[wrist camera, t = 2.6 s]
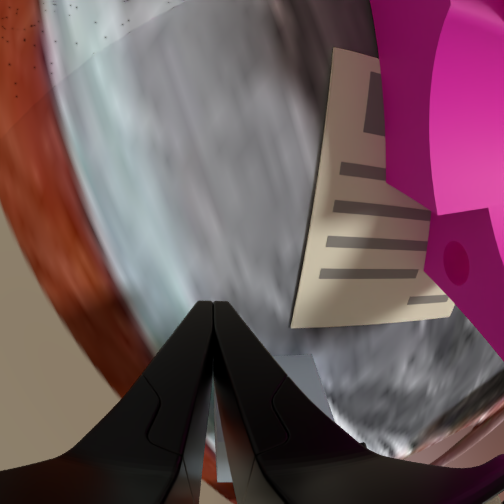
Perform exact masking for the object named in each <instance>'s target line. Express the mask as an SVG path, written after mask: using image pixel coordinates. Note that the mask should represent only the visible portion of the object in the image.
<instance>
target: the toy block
mask: <svg viewBox="0 0 504 504" xmlns="http://www.w3.org/2000/svg"><path fill="white" fill-rule="evenodd" d="M370 4H371V9H372V15H373V20H374V26H375V33H376V39H377V46H378V54H379V62H380V71H381V80H382V91H383V104H384V120H385V145H386V183H387V184H389V185H391V186H392V187H394V188H396V189H397V190H399V191H400V192H402V193H404V194H405V195H407V196H409V197H410V198H412V199H413V200H415V201H416V202H418V203H420V204H421V205H423V206H424V207H426V208H427V209H429V210H430V211H431V219H430V228H429V236H428V244H427V251H426V258H425V264H424V272H425V273H426V274H427V275H428V276H429V277H430V278H431V279H432V280H433V281H434V282H435V283H436V284H437V285H438V286H439V287H440V288H441V290H442V291H443V292H444V293H445V294H446V295H447V296H448V297H449V298H450V299H451V300H452V301H453V302H454V304H455V305H456V306H457V307H458V308H459V309H460V310H461V311H462V312H463V314H464V315H465V316H466V317H467V318H468V319H469V320H470V321H471V323H472V324H473V325H474V326H475V327H476V328H477V330H478V331H479V332H480V333H481V334H482V335H483V337H484V338H485V339H486V340H487V341H488V343H489V344H490V345H491V346H492V347H493V349H494V350H495V351H496V352H497V354H498V355H499V356H500V357H501V359H502V360H503V361H504V0H370Z"/></svg>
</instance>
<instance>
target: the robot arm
mask: <svg viewBox="0 0 504 504" xmlns="http://www.w3.org/2000/svg"><path fill="white" fill-rule="evenodd" d="M287 376H288V375H287V373H286V372H285V371H284V370H283V369H282V367H281V366H280V365H279V364H278V363H277V361H276V360H275V359H274V358H273V357H272V355H271V354H270V353H269V352H268V351H267V349H266V348H265V347H264V346H263V344H262V343H261V342H260V341H259V339H258V338H257V337H256V336H255V335H254V333H253V332H252V331H251V330H250V328H249V327H248V326H247V325H246V323H245V322H244V321H243V320H242V318H241V317H240V316H239V315H238V313H237V312H236V311H235V309H234V308H233V307H232V306H231V304H230V303H229V302H228V301H214V302H212V301H197V303H196V304H195V305H194V306H193V308H192V309H191V310H190V312H189V313H188V314H187V315H186V317H185V318H184V319H183V321H182V322H181V323H180V325H179V326H178V327H177V328H176V330H175V331H174V332H173V334H172V335H171V336H170V337H169V339H168V340H167V341H166V343H165V344H164V345H163V347H162V348H161V349H160V351H159V352H158V353H157V354H156V356H155V357H154V358H153V360H152V361H151V362H150V364H149V365H148V366H147V368H146V369H145V370H144V371H143V373H142V375H140V376H139V378H138V379H137V380H136V382H135V383H134V385H133V386H132V387H131V388H130V389H129V391H128V392H127V393H126V394H125V396H124V397H123V398H122V399H121V400H120V401H119V402H118V403H117V404H116V405H115V406H114V407H113V409H112V410H111V411H110V412H109V413H108V414H107V415H106V416H105V417H104V418H103V419H102V420H101V421H100V422H99V423H98V424H97V425H96V426H95V427H94V428H93V429H92V430H91V431H90V432H89V433H87V434H86V436H84V437H83V438H82V440H80V442H78V443H77V444H76V445H75V446H74V447H73V448H71V449H70V450H69V451H67V452H66V453H64V454H62V455H60V456H58V457H56V458H53V459H49V460H46V461H42V462H38V463H34V464H30V465H26V466H22V467H17V468H13V469H8V470H3V471H0V504H199V496H200V486H201V476H202V467H203V457H204V448H205V439H206V430H207V422H208V413H209V405H210V396H211V388H212V378H214V386H215V392H216V398H217V403H218V409H219V415H220V420H221V426H222V431H223V437H224V442H225V447H226V452H227V457H228V462H229V467H230V472H231V477H232V481H233V486H234V491H235V495H236V500H237V504H504V501H503V502H501V501H500V498H499V496H498V494H500V493H501V492H503V491H504V454H501V455H498V456H497V457H495V458H493V459H492V460H490V461H488V462H486V463H485V464H483V465H480V466H476V467H472V468H449V467H442V466H435V465H427V464H422V463H416V462H410V461H405V460H400V459H395V458H390V457H386V456H382V455H379V454H377V453H375V452H373V451H371V450H369V449H367V447H366V444H365V443H364V442H363V443H359V442H357V441H356V440H355V439H354V438H353V437H351V436H350V435H349V434H348V433H347V432H345V431H344V430H343V429H342V428H341V427H340V426H338V425H337V424H336V423H335V422H334V421H333V420H331V419H330V418H329V417H328V416H327V415H326V414H325V413H323V412H322V411H321V410H320V409H319V408H318V407H317V406H316V405H315V404H314V403H313V402H312V401H311V400H310V399H309V398H308V397H307V396H306V395H305V394H304V393H303V392H302V391H301V390H300V389H299V387H298V386H297V385H296V384H295V383H294V382H293V380H292V379H291V378H290V377H287Z"/></svg>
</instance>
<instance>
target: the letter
mask: <svg viewBox="0 0 504 504" xmlns="http://www.w3.org/2000/svg"><path fill="white" fill-rule="evenodd" d="M430 219H431V211H430V210H429V209H427V208H426V207H424V206H423V205H421V204H420V203H418V202H416V201H415V200H413V199H412V198H410V197H409V196H407V195H405V194H404V193H402V192H400V191H399V190H397V189H396V188H394V187H392V186H391V185H389V184H387V183H386V145H385V120H384V104H383V91H382V80H381V71H380V62H379V59H378V58H375V57H371V56H368V55H364V54H361V53H357V52H353V51H349V50H345V49H341V48H336V47H333V55H332V66H331V75H330V85H329V94H328V102H327V111H326V119H325V127H324V134H323V142H322V149H321V156H320V163H319V170H318V177H317V184H316V190H315V196H314V203H313V209H312V215H311V221H310V227H309V233H308V238H307V244H306V250H305V255H304V261H303V266H302V271H301V277H300V282H299V287H298V292H297V297H296V302H295V307H294V312H293V317H292V322H291V326H290V327H291V328H316V327H337V326H355V325H370V324H383V323H395V322H406V321H416V320H425V319H434V318H443V317H449V316H450V314H451V312H452V310H453V308H454V306H455V304H454V302H453V301H452V300H451V299H450V298H449V297H448V296H447V295H446V294H445V293H444V292H443V291H442V290H441V288H440V287H439V286H438V285H437V284H436V283H435V282H434V281H433V280H432V279H431V278H430V277H429V276H428V275H427V274H426V273H425V272H424V264H425V258H426V251H427V244H428V236H429V228H430Z"/></svg>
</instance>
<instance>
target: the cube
mask: <svg viewBox="0 0 504 504" xmlns="http://www.w3.org/2000/svg"><path fill="white" fill-rule="evenodd" d="M272 357H273V358H274V359H275V360H276V361H277V363H278V364H279V365H280V366H281V367H282V369H283V370H284V371H285V372H286V373H287V375H288V376H287V377H290V378H291V379H292V380H293V382H294V383H295V384H296V385H297V386H298V387H299V389H300V390H301V391H302V392H303V393H304V394H305V395H306V396H307V397H308V398H309V399H310V400H311V401H312V402H313V403H314V404H315V405H316V406H317V407H318V408H319V409H320V410H321V411H322V412H323V413H325V414H326V415H327V416H328V417H329V418H330V419H331V420H333V421H334V418H333V415H332V412H331V409H330V406H329V403H328V400H327V397H326V394H325V391H324V388H323V385H322V383H321V380H320V377H319V374H318V371H317V368H316V365H315V362H314V359H313V356H312V354H306V355H286V356H272ZM334 422H335V421H334ZM214 426H215V448H216V467H217V482H233V481H232V477H231V472H230V467H229V462H228V457H227V452H226V447H225V442H224V437H223V431H222V426H221V420H220V415H219V409H218V403H217V398H216V392H215V386H214Z"/></svg>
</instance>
